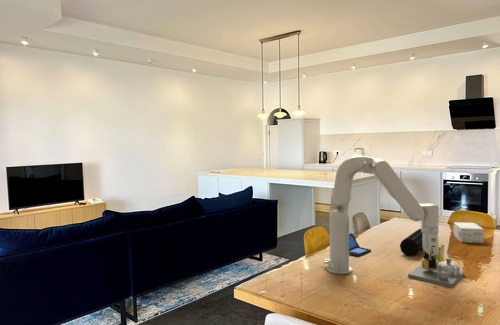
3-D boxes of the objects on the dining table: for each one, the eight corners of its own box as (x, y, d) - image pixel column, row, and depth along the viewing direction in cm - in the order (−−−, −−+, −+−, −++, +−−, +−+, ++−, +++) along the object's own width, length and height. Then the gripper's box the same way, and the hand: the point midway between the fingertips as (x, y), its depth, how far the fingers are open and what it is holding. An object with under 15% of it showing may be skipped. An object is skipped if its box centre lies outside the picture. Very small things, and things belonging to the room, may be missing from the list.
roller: (415, 237, 240) (421, 223, 238) (431, 244, 234) (436, 230, 232) (397, 251, 211) (402, 236, 208) (414, 259, 205) (420, 244, 203)
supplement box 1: (432, 262, 196) (432, 242, 195) (444, 265, 191) (444, 244, 191) (427, 265, 191) (428, 244, 191) (440, 268, 187) (440, 247, 186)
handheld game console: (358, 257, 207) (358, 241, 206) (337, 252, 217) (337, 237, 216) (372, 251, 218) (372, 236, 217) (352, 247, 227) (352, 232, 227)
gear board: (408, 277, 176) (408, 260, 175) (423, 266, 190) (423, 250, 190) (451, 287, 163) (451, 269, 162) (464, 275, 177) (464, 258, 176)
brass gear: (424, 270, 175) (424, 262, 175) (419, 265, 182) (420, 257, 182) (439, 270, 174) (439, 262, 174) (434, 266, 181) (434, 258, 181)
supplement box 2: (453, 235, 249) (453, 221, 249) (474, 236, 246) (475, 222, 245) (460, 242, 233) (460, 227, 232) (483, 243, 229) (484, 228, 229)
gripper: (444, 234, 168) (444, 271, 169) (431, 225, 185) (431, 259, 186) (427, 233, 169) (427, 271, 170) (416, 225, 186) (416, 259, 187)
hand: (429, 265), depth 178 cm, fingers open, 7 cm apart
